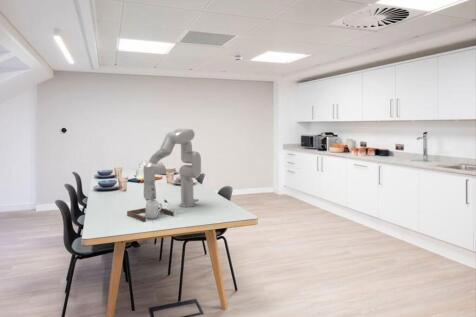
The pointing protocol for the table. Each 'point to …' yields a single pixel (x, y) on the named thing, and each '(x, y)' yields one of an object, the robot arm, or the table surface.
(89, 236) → the table surface
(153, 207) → the mug
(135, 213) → the open wooden rail frame
